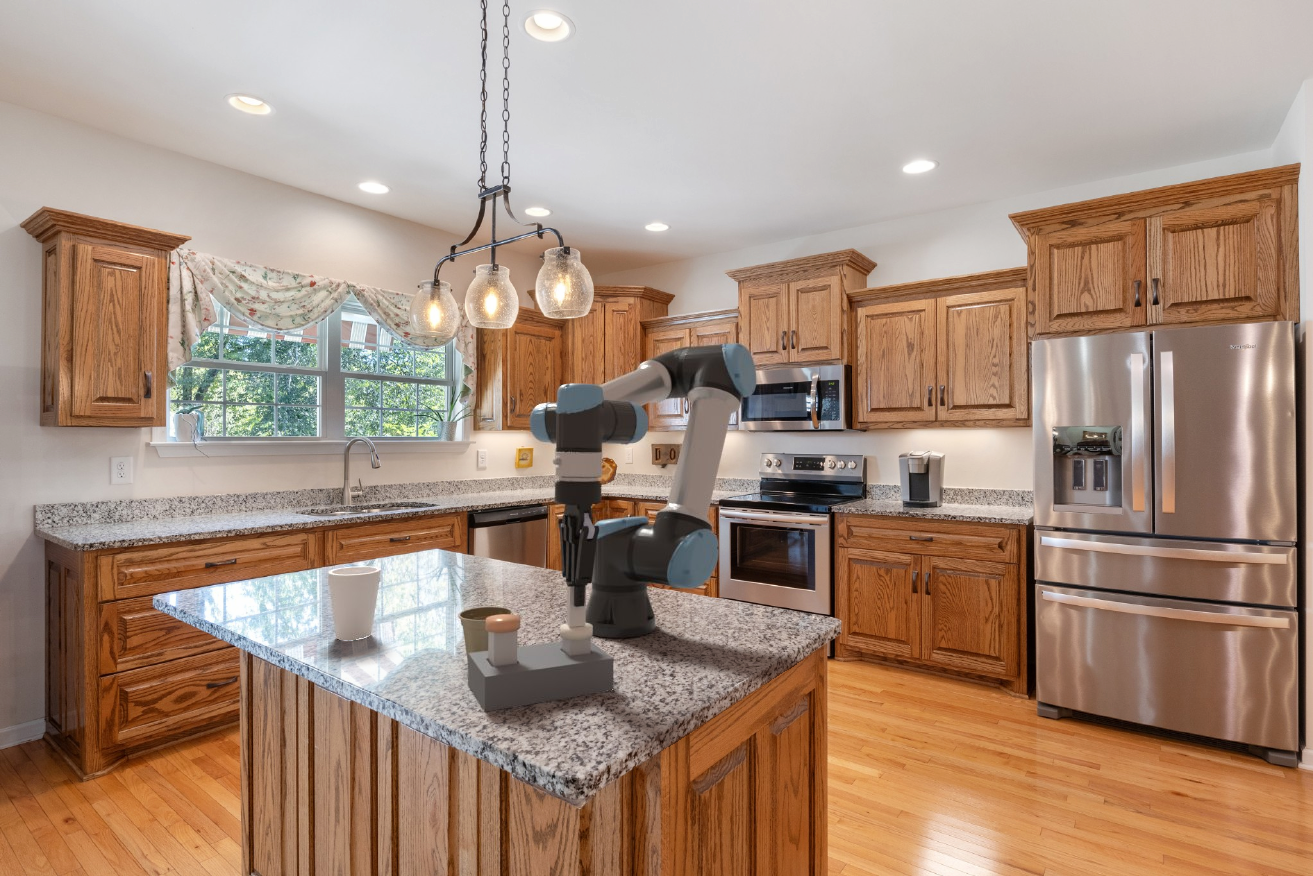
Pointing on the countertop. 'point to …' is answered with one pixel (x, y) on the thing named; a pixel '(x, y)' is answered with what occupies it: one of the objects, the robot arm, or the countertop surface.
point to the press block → (538, 676)
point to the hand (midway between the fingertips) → (575, 624)
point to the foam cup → (354, 600)
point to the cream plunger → (576, 639)
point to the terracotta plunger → (502, 639)
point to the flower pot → (478, 626)
